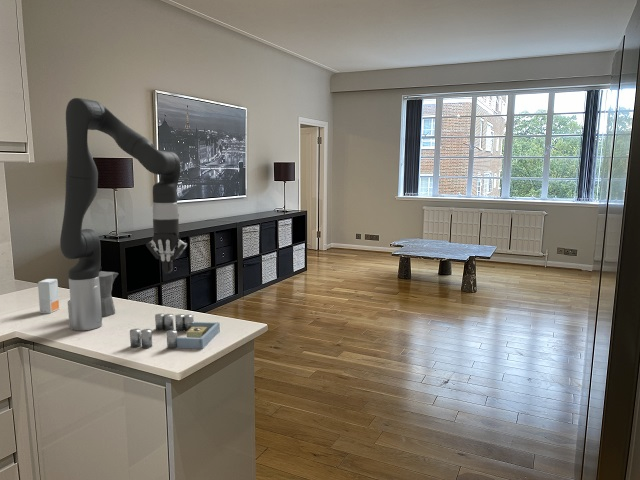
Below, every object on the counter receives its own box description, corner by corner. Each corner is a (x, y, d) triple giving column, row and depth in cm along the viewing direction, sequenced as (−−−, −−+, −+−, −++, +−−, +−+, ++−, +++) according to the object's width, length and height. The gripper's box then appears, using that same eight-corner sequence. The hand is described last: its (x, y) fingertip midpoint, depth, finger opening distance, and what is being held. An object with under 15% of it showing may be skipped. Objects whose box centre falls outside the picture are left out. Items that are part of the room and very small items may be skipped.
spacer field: (128, 347, 144) (127, 331, 143) (156, 327, 162) (156, 313, 162) (175, 349, 142) (174, 333, 141) (198, 329, 161) (197, 314, 160)
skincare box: (51, 313, 179) (48, 282, 177) (39, 313, 179) (37, 282, 177) (60, 309, 185) (57, 278, 183) (49, 308, 185) (46, 278, 183)
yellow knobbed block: (187, 342, 149) (186, 331, 148) (192, 337, 154) (192, 326, 153) (202, 343, 148) (202, 331, 148) (207, 337, 153) (207, 326, 153)
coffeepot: (117, 308, 186) (114, 262, 184) (124, 313, 179) (122, 266, 176) (73, 315, 176) (70, 267, 174) (79, 321, 169) (76, 271, 167)
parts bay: (172, 347, 144) (172, 337, 143) (192, 330, 160) (191, 321, 159) (203, 348, 143) (202, 339, 142) (219, 331, 159) (219, 322, 158)
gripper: (139, 218, 144) (141, 274, 146) (181, 218, 142) (183, 275, 145) (150, 215, 151) (152, 269, 154) (191, 216, 150) (192, 270, 152)
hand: (167, 272), depth 149 cm, fingers closed
